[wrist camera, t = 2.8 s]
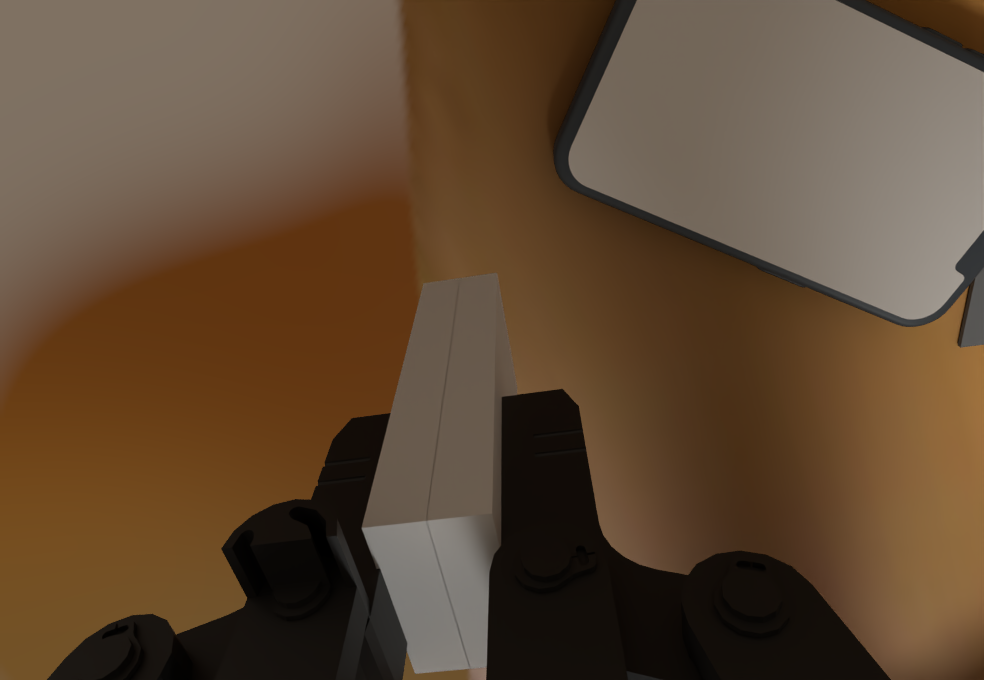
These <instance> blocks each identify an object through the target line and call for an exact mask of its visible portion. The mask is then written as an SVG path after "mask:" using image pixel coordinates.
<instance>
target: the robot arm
mask: <svg viewBox="0 0 984 680" xmlns="http://www.w3.org/2000/svg"><path fill="white" fill-rule="evenodd" d="M222 551H223V553H224V555H225V557H226V559H227V560H228V562H229V564H230V566H231V568H232V570H233V572H234V574H235V575H236V578H237V579H238V581H239V583H240V585H241V587H242V589H243V591H244V593H245V594H246V596H247V601H246V603H245V606H244V607H243V608H241V609H239V610H237V611H235V612H233V613H231V614H229V615H227V616H224V617H221V618H219V619H216V620H213V621H211V622H208V623H206V624H203V625H200V626H198V627H195V628H193V629H190V630H187V631H184V632H182V633H179V634H177V635H176V634H175V632H174V631H173V629H172V628H171V626H170V625H169V623H168V621H167V620H165V619H163V618H160V617H158V616H156V615H153V614H146V615H133V616H130V617H127V618H124V619H121V620H119V621H116V622H113V623H111V624H108V625H107V626H105V627H104V628H102V629H100V630H99V631H98V632H96V633H94V634H93V635H91V636H90V637H88V638H86V639H85V640H84V641H83V642H82V643H81V644H80V645H79V646H78V647H77V648H76V649H75V650H74V651H73V652H72V653H70V655H68V656H67V657H66V658H65V659H64V660H63V662H62V663H61V664H60V665H59V666H58V667H57V669H56V670H55V671H54V672H53V673H52V674H51V676H50V677H49V678H48V679H47V680H402V679H403V672H404V665H405V658H406V651H407V652H408V655H409V658H410V660H411V663H412V666H413V669H414V671H415V674H416V673H427V672H438V671H449V670H460V669H472V668H484V667H487V675H486V680H891V679H890V678H889V677H888V676H887V675H886V673H885V672H884V671H883V670H882V668H881V667H880V666H879V665H878V664H877V662H876V661H875V660H874V659H873V658H872V656H871V655H870V654H869V653H868V652H867V650H866V649H865V648H864V647H863V646H862V644H861V643H860V642H859V641H858V640H857V638H856V637H855V636H854V635H853V633H852V632H851V631H850V630H849V629H848V627H847V626H846V625H845V624H844V623H843V621H842V620H841V619H840V618H839V617H838V615H837V614H836V613H835V612H834V611H833V609H832V608H831V607H830V606H829V605H828V603H827V602H826V601H825V600H824V599H823V597H822V596H821V595H820V594H819V592H818V591H817V590H816V589H815V588H814V586H813V585H812V584H811V583H810V582H809V581H807V580H806V579H805V578H804V577H803V576H802V575H801V574H799V573H798V572H797V571H796V570H795V569H794V568H793V567H791V566H789V565H787V564H785V563H783V562H781V561H779V560H776V559H774V558H772V557H770V556H768V555H764V554H758V553H751V552H745V551H734V552H727V553H720V554H715V555H713V556H711V557H709V558H707V559H706V560H704V561H702V562H700V563H698V564H696V566H695V567H694V568H693V570H692V571H691V572H690V574H689V575H684V574H678V573H673V572H667V571H661V570H656V569H653V568H649V567H646V566H642V565H639V564H637V563H635V562H633V561H631V560H629V559H627V558H625V557H623V556H622V555H621V554H620V553H619V552H617V551H616V550H615V549H614V548H613V547H611V545H610V544H609V543H608V541H607V540H606V538H605V537H604V536H603V533H602V531H601V528H600V525H599V521H598V515H597V510H596V504H595V498H594V492H593V486H592V481H591V475H590V469H589V463H588V458H587V452H586V446H585V440H584V434H583V429H582V423H581V417H580V411H579V406H578V405H577V404H576V403H575V402H574V401H573V400H572V399H571V398H570V397H569V395H568V394H567V393H566V392H565V391H564V390H563V389H559V390H551V391H543V392H535V393H528V394H520V395H517V383H516V377H515V372H514V366H513V360H512V355H511V349H510V343H509V338H508V332H507V326H506V321H505V315H504V310H503V304H502V298H501V293H500V287H499V281H498V276H497V273H492V274H485V275H478V276H472V277H465V278H458V279H451V280H444V281H438V282H431V283H424V284H423V288H422V292H421V296H420V300H419V304H418V308H417V312H416V316H415V320H414V324H413V328H412V332H411V335H410V339H409V344H408V347H407V352H406V355H405V359H404V363H403V367H402V371H401V375H400V379H399V383H398V387H397V391H396V395H395V398H394V402H393V406H392V410H391V413H389V414H381V415H373V416H365V417H357V418H352V419H351V420H350V421H349V422H348V423H347V424H346V426H345V427H344V428H343V429H342V430H341V431H340V432H339V433H338V434H337V435H336V437H335V438H334V439H333V441H332V443H331V446H330V449H329V452H328V455H327V457H326V460H325V467H323V468H322V471H321V474H320V476H319V479H318V486H316V487H315V490H314V493H313V496H312V498H311V500H301V499H300V500H299V499H295V500H291V501H287V502H283V503H279V504H275V505H272V506H270V507H268V508H266V509H264V510H263V511H260V512H258V513H257V514H255V515H253V516H251V517H250V518H249V519H248V520H247V521H245V522H244V523H243V524H242V525H240V526H239V527H238V528H237V529H236V530H234V532H233V533H232V534H231V536H230V537H229V539H228V540H227V541H226V543H225V544H224V546H223V547H222Z"/></svg>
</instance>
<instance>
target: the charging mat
mask: <svg viewBox="0 0 984 680" xmlns="http://www.w3.org/2000/svg"><path fill="white" fill-rule="evenodd" d="M976 345H984V268H983V269H982V270H981V272H980V273H979V274H978V275H977V276H976V278H975V279H974V280H973V281H972V282H971V284H970V289H969V293H968V298H967V303H966V308H965V312H964V317H963V322H962V327H961V331H960V336H959V341H958V346H959V347H968V346H976Z"/></svg>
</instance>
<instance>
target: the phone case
mask: <svg viewBox="0 0 984 680" xmlns="http://www.w3.org/2000/svg"><path fill="white" fill-rule="evenodd" d="M553 155H554V164H555V168H556V172H557V174H558V176H559V178H560V179H561V180H562V181H563V183H564V184H565V185H566V186H568V187H569V188H570V189H572V190H574V191H576V192H578V193H580V194H583V195H585V196H587V197H590V198H592V199H595V200H597V201H600V202H602V203H604V204H607V205H609V206H612V207H614V208H616V209H619V210H621V211H624V212H626V213H629V214H631V215H633V216H636V217H638V218H641V219H643V220H646V221H648V222H650V223H653V224H655V225H658V226H660V227H662V228H665V229H667V230H670V231H672V232H675V233H677V234H679V235H682V236H684V237H687V238H689V239H691V240H694V241H696V242H699V243H701V244H704V245H706V246H708V247H711V248H713V249H716V250H718V251H720V252H723V253H725V254H728V255H730V256H733V257H735V258H737V259H740V260H742V261H745V262H747V263H750V264H752V265H754V266H756V267H757V268H758V269H760V270H762V271H764V272H766V273H769V274H771V275H774V276H776V277H779V278H781V279H783V280H786V281H788V282H791V283H793V284H796V285H798V286H800V287H808V288H810V289H812V290H815V291H817V292H820V293H822V294H825V295H827V296H829V297H832V298H834V299H837V300H839V301H841V302H844V303H846V304H849V305H851V306H854V307H856V308H858V309H861V310H863V311H866V312H868V313H870V314H873V315H875V316H878V317H880V318H883V319H885V320H887V321H890V322H892V323H895V324H897V325H901V326H906V327H915V326H921V325H925V324H928V323H930V322H932V321H934V320H936V319H938V318H939V317H941V316H942V315H943V314H945V313H946V312H947V310H948V309H949V308H950V307H951V306H952V305H953V304H954V303H955V301H956V300H957V299H958V298H959V297H960V295H961V294H962V293H963V292H964V291H965V289H966V288H967V287H968V286H969V285H970V283H971V282H972V281H973V280H974V279H975V278H976V276H977V275H978V274H979V273H980V272H981V270H982V269H983V268H984V54H982V53H980V52H977V51H975V50H973V49H968V48H962V44H961V43H959V42H957V41H955V40H953V39H951V38H949V37H947V36H945V35H943V34H941V33H939V32H937V31H935V30H933V29H930V28H926V27H919V26H917V25H915V24H913V23H911V22H909V21H907V20H905V19H903V18H901V17H899V16H897V15H895V14H893V13H891V12H889V11H886V10H884V9H882V8H880V7H878V6H876V5H874V4H872V3H870V2H868V1H866V0H616V1H615V4H614V6H613V8H612V11H611V13H610V15H609V17H608V20H607V22H606V24H605V27H604V29H603V31H602V34H601V36H600V38H599V40H598V43H597V45H596V47H595V50H594V52H593V54H592V57H591V59H590V61H589V63H588V66H587V68H586V70H585V73H584V75H583V77H582V80H581V82H580V84H579V86H578V89H577V91H576V93H575V96H574V98H573V100H572V103H571V105H570V107H569V109H568V112H567V114H566V116H565V119H564V121H563V123H562V126H561V128H560V130H559V132H558V135H557V137H556V140H555V143H554V150H553Z"/></svg>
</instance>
